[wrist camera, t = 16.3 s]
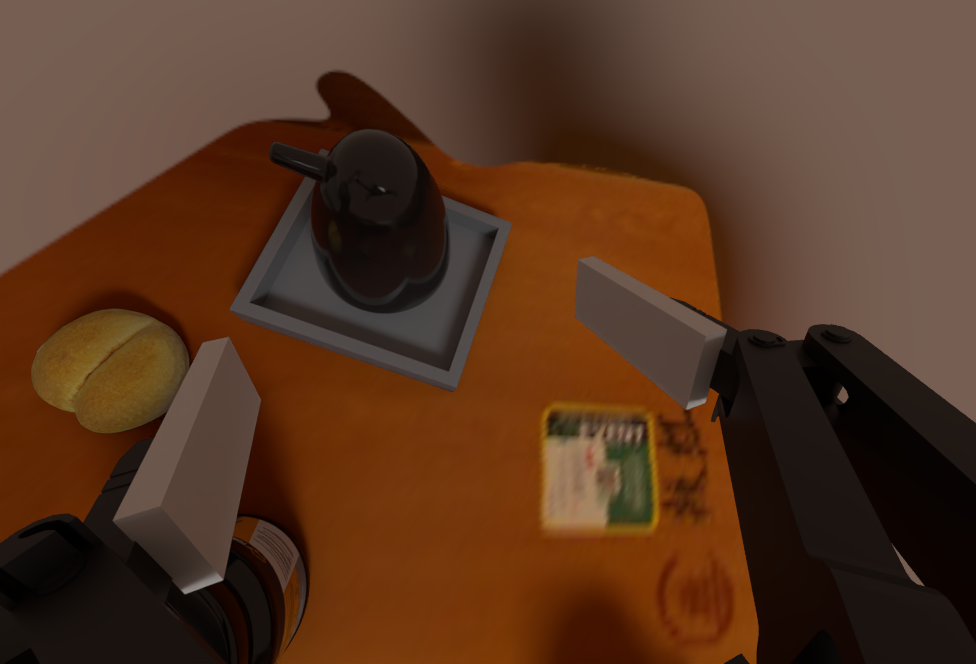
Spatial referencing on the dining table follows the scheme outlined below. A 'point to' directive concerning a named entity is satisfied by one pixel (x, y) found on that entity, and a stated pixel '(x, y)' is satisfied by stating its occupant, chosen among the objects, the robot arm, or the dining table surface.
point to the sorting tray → (365, 335)
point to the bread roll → (111, 369)
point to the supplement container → (251, 595)
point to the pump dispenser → (374, 220)
